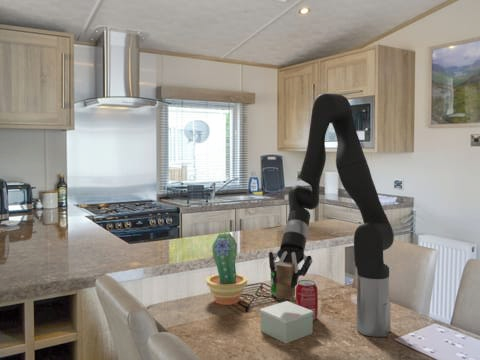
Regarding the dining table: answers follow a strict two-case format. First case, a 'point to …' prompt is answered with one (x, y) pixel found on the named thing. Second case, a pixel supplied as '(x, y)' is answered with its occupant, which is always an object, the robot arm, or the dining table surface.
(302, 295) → the soda can
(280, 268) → the walnut block
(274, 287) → the soda can
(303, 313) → the storage box
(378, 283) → the robot arm
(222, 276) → the potted cactus
